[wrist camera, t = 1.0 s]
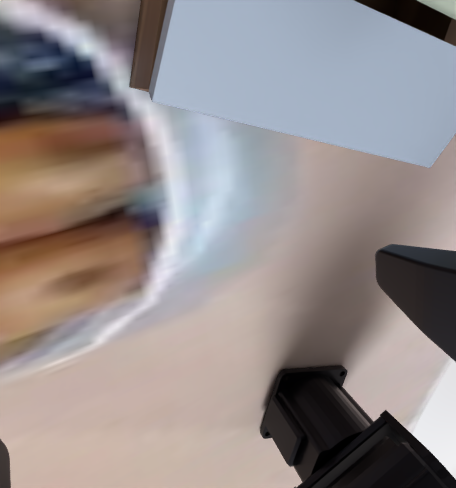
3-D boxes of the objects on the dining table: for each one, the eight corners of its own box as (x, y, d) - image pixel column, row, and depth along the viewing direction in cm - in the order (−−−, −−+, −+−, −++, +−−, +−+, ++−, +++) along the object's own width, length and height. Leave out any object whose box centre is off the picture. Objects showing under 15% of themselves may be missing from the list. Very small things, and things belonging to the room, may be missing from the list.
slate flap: (486, 60, 17) (504, 68, 16) (417, 157, 20) (429, 167, 19) (184, -76, 11) (191, -74, 10) (148, 90, 14) (151, 101, 13)
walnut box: (413, -41, 21) (502, -71, 17) (354, 142, 24) (416, 156, 20) (165, -179, 15) (204, -282, 11) (129, 86, 18) (148, 89, 14)
